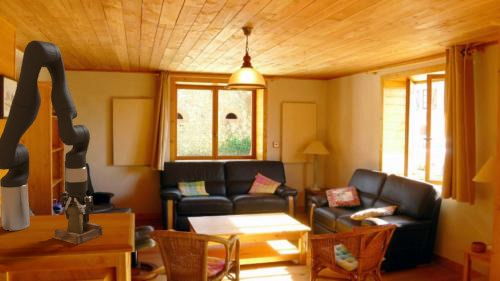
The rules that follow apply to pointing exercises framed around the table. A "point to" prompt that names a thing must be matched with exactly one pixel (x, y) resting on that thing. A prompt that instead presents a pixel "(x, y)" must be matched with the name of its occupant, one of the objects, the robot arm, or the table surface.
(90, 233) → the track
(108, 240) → the table surface
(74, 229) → the cork
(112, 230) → the table surface
